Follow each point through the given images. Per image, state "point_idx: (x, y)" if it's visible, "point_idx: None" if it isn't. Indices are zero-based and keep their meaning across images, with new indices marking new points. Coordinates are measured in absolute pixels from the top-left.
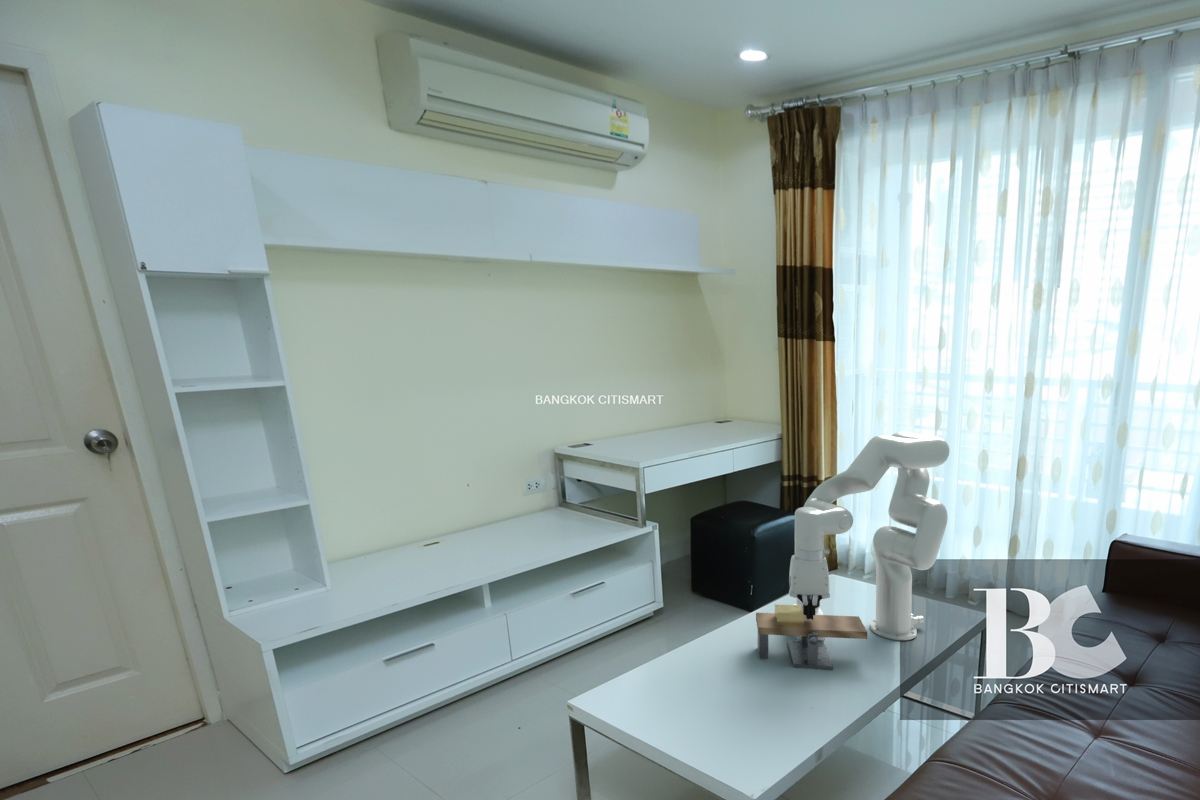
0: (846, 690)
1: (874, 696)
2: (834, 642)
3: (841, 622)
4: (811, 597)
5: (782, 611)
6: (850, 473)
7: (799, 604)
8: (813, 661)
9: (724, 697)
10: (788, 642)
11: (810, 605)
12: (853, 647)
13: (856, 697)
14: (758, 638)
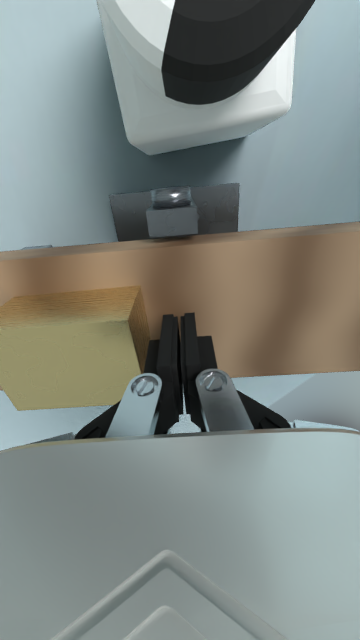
0: (240, 381)
1: (287, 388)
2: (284, 141)
3: (333, 309)
4: (202, 410)
5: (41, 399)
6: None
7: (126, 52)
8: None
9: (32, 428)
10: (113, 213)
11: (187, 410)
12: (341, 172)
13: (252, 395)
14: None
